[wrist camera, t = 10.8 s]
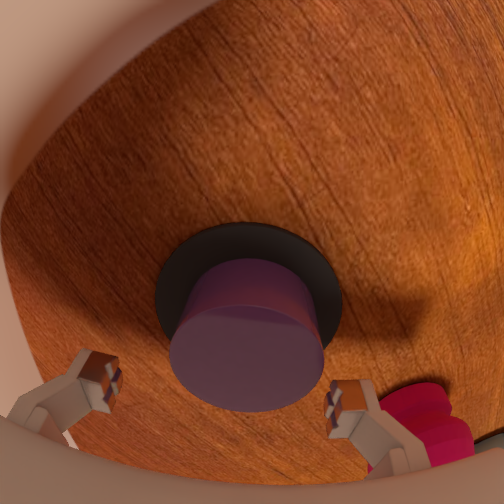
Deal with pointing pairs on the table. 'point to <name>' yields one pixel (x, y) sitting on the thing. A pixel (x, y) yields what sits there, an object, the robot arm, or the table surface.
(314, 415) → the table surface
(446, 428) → the pepper mill
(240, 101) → the table surface
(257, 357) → the squat purple cylinder
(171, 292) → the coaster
